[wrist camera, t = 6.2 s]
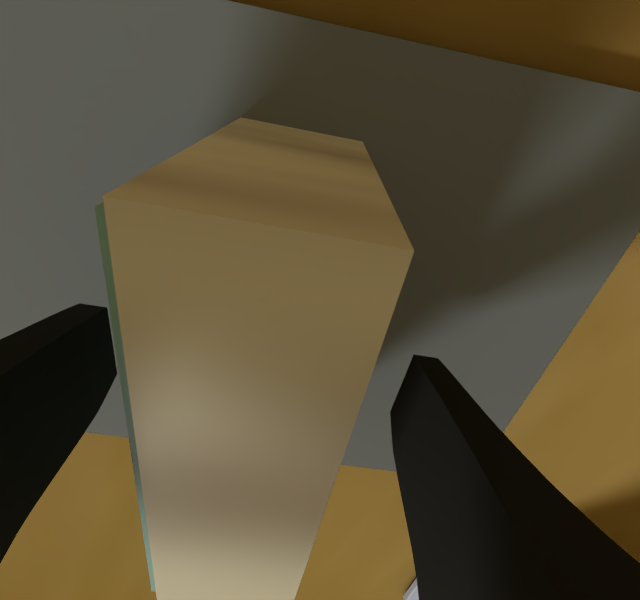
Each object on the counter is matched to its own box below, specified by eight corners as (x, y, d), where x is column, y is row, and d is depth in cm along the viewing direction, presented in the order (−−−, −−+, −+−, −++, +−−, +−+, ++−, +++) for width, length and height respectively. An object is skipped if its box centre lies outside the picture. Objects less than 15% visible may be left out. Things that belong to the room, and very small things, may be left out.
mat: (697, 107, 9) (721, 109, 8) (465, 467, 16) (470, 480, 15) (-147, -80, 7) (-184, -92, 7) (27, 410, 14) (16, 423, 14)
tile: (302, 407, 13) (287, 619, 8) (218, 395, 13) (148, 606, 8) (362, 141, 9) (414, 251, 3) (231, 115, 8) (78, 192, 3)
